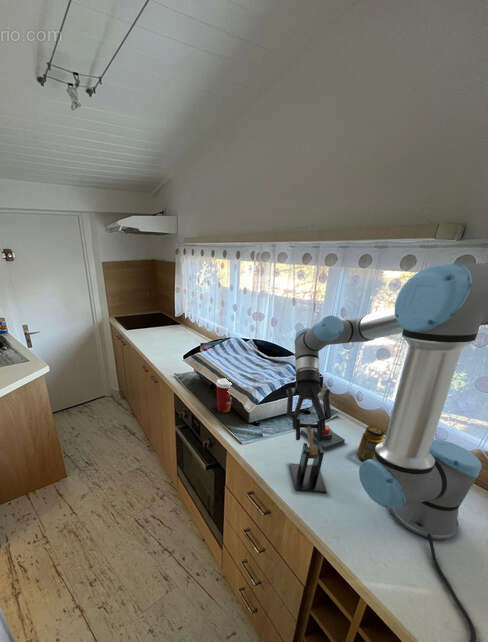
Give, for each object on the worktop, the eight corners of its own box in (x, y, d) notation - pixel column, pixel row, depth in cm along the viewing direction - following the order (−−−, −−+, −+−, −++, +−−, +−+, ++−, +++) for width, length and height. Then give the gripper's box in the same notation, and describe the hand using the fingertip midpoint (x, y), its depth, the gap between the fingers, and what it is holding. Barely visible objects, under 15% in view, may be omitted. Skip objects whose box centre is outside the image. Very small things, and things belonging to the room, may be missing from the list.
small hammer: (297, 425, 101) (299, 421, 99) (316, 426, 100) (318, 422, 98) (302, 457, 93) (303, 453, 91) (322, 459, 92) (324, 455, 91)
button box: (343, 444, 114) (346, 435, 112) (323, 451, 110) (325, 442, 108) (319, 428, 123) (321, 419, 122) (300, 434, 120) (301, 425, 118)
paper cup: (233, 413, 134) (234, 385, 127) (215, 413, 134) (216, 385, 128) (231, 405, 141) (232, 377, 134) (214, 405, 141) (215, 377, 134)
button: (330, 432, 114) (331, 428, 113) (323, 435, 113) (324, 430, 112) (323, 427, 117) (324, 423, 116) (316, 430, 116) (317, 425, 115)
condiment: (381, 459, 106) (391, 431, 100) (367, 468, 102) (377, 439, 96) (360, 448, 111) (369, 421, 106) (347, 457, 107) (355, 429, 102)
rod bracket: (289, 466, 104) (294, 435, 98) (316, 468, 103) (324, 437, 97) (295, 492, 93) (302, 459, 87) (325, 494, 92) (335, 461, 86)
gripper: (332, 377, 106) (336, 444, 100) (276, 375, 108) (276, 440, 102) (340, 369, 99) (345, 440, 92) (280, 367, 101) (280, 436, 95)
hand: (309, 440), depth 97 cm, fingers closed on small hammer, 6 cm apart
